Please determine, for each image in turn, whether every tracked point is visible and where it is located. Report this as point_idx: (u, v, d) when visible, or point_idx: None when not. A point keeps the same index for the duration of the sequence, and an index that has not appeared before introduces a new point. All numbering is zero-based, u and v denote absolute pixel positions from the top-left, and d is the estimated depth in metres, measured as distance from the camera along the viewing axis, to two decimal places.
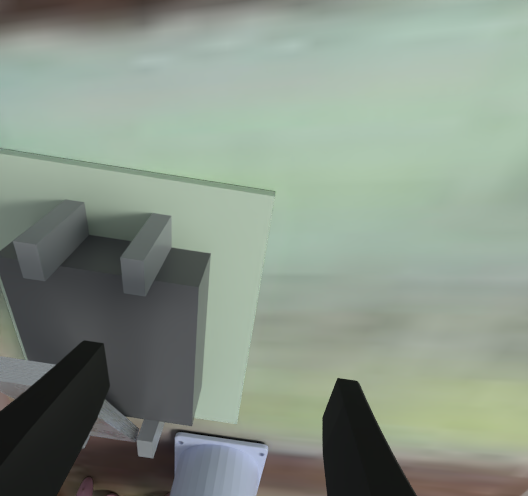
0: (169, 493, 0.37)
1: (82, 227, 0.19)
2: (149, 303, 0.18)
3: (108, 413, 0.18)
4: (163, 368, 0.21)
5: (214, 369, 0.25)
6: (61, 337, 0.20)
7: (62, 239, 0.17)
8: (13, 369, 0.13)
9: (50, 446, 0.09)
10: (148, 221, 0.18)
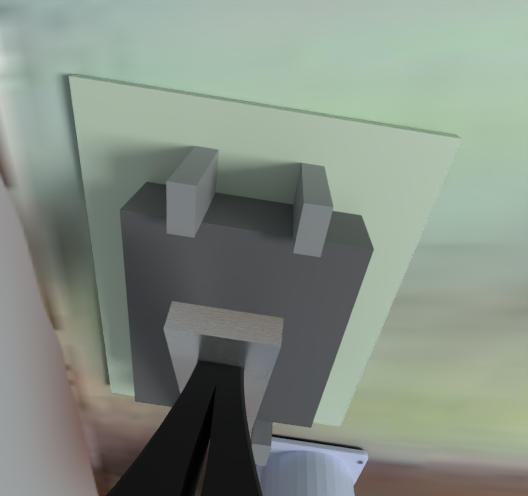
0: None
1: (214, 180, 0.16)
2: (303, 272, 0.15)
3: None
4: (296, 356, 0.17)
5: None
6: None
7: (206, 188, 0.14)
8: (216, 320, 0.09)
9: (194, 467, 0.09)
10: (304, 170, 0.15)
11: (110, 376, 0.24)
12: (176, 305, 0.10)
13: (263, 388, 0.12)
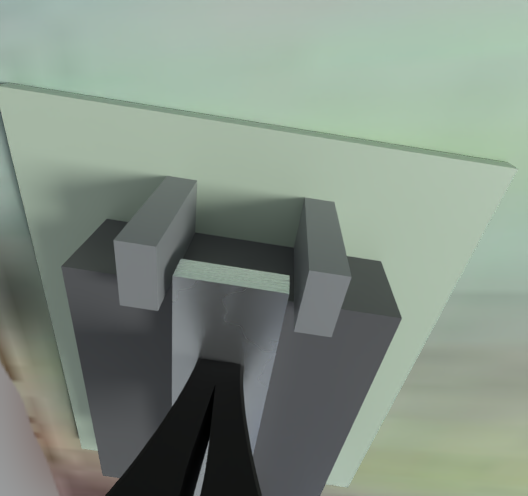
0: None
1: (192, 220, 0.12)
2: (307, 343, 0.11)
3: None
4: (298, 435, 0.14)
5: None
6: (149, 390, 0.13)
7: (177, 238, 0.10)
8: (224, 273, 0.10)
9: (193, 467, 0.09)
10: (308, 209, 0.11)
11: (79, 432, 0.20)
12: (185, 261, 0.10)
13: (266, 381, 0.11)
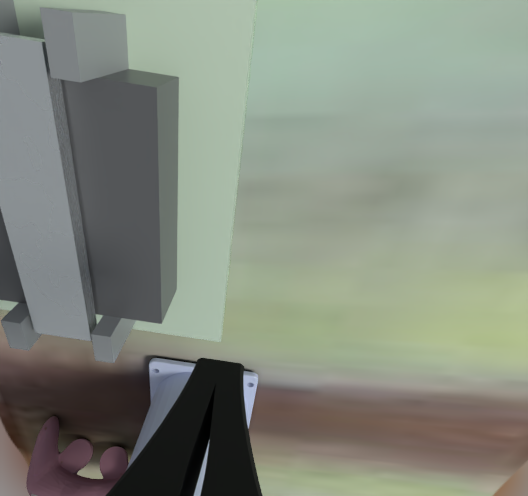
0: None
1: (10, 31, 0.15)
2: (94, 120, 0.14)
3: (74, 210, 0.16)
4: (120, 232, 0.17)
5: (191, 262, 0.21)
6: None
7: None
8: None
9: (194, 467, 0.09)
10: (92, 10, 0.14)
11: None
12: None
13: (56, 146, 0.14)
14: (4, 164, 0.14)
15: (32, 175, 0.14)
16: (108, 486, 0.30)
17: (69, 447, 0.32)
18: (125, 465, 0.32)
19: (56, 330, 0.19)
